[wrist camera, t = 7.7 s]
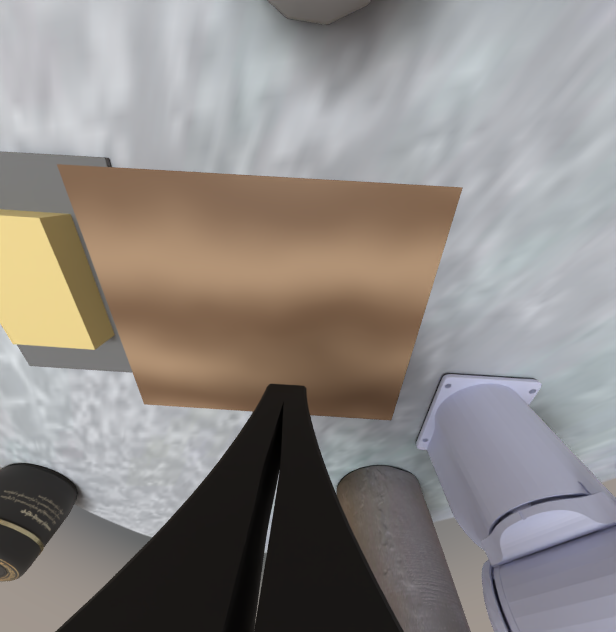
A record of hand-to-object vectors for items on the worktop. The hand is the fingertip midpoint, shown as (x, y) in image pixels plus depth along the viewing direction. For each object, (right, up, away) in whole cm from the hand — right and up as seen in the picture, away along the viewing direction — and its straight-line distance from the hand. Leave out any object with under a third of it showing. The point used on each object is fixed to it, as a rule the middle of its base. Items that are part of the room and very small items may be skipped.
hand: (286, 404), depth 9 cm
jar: (-33, -18, +22) cm, 44 cm away
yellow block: (-17, +5, +7) cm, 19 cm away
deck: (-2, +5, +9) cm, 10 cm away
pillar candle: (+9, -17, +20) cm, 28 cm away
